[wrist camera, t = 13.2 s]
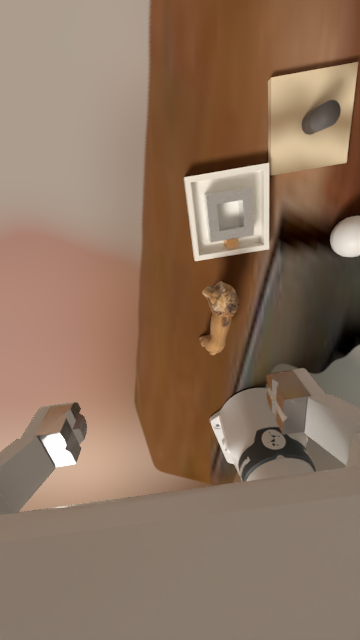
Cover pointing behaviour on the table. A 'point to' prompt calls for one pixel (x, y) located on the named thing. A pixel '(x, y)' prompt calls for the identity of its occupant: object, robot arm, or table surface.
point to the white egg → (346, 237)
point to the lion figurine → (219, 315)
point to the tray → (228, 209)
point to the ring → (245, 216)
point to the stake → (310, 118)
